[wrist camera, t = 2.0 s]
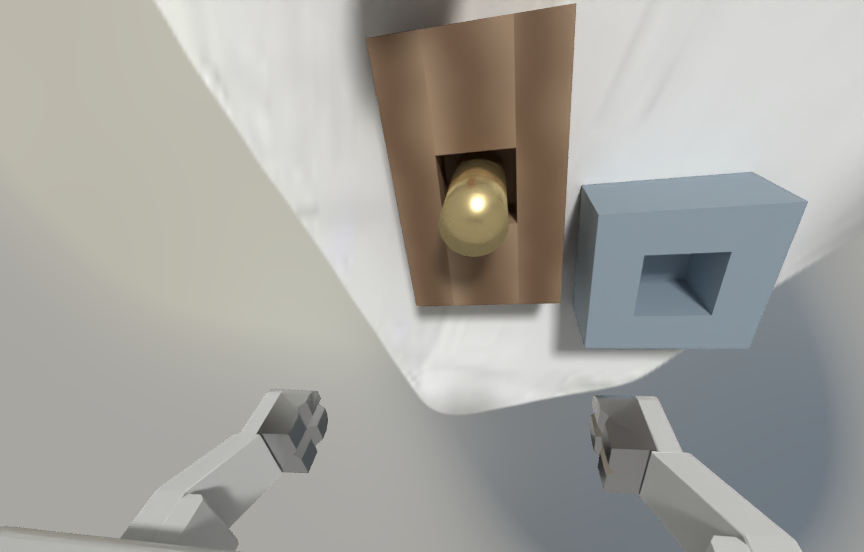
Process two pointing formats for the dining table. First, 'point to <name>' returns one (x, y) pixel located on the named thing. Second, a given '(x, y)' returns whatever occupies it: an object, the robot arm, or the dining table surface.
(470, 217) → the brass pin
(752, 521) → the robot arm
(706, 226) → the dock block
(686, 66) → the dining table surface
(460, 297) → the wooden socket block
